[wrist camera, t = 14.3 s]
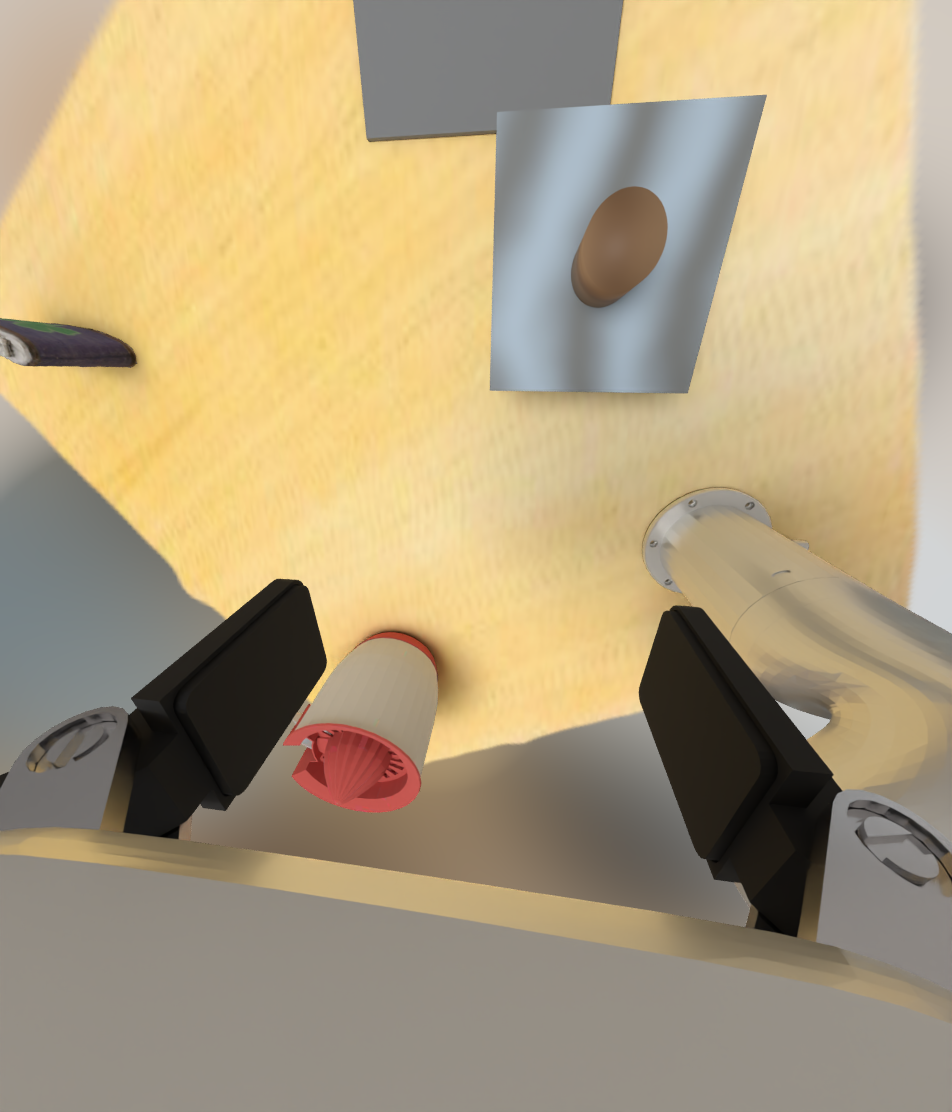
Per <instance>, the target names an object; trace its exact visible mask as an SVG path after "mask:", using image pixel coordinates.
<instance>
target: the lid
mask: <svg viewBox="0 0 952 1112" xmlns="http://www.w3.org/2000/svg"><path fill="white" fill-rule="evenodd" d="M766 96H767V95H755V96H740V97H724V98H708V99H693V100H677V101H661V102H646V103H630V104H615V105H599V106H583V107H568V108H552V109H536V110H521V111H505V112H497V134H496V173H495V212H494V251H493V290H492V329H491V368H490V390H492V391H561V392H630V393H688V390H689V386H690V382H691V379H692V375H693V371H694V367H695V363H696V360H697V356H698V352H699V348H700V345H701V341H702V337H703V333H704V330H705V326H706V322H707V318H708V315H709V311H710V307H711V303H712V299H713V296H714V292H715V288H716V284H717V281H718V277H719V273H720V269H721V266H722V262H723V258H724V254H725V251H726V247H727V243H728V239H729V235H730V232H731V228H732V224H733V220H734V217H735V213H736V209H737V205H738V202H739V198H740V194H741V190H742V187H743V183H744V179H745V175H746V171H747V168H748V164H749V160H750V156H751V153H752V149H753V145H754V141H755V138H756V134H757V130H758V126H759V122H760V119H761V115H762V111H763V107H764V104H765V100H766Z"/></svg>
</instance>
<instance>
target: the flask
mask: <svg viewBox="0 0 952 1112" xmlns="http://www.w3.org/2000/svg"><path fill="white" fill-rule="evenodd" d="M0 356H3V357H5V358H6V359H9V360H11V361H12V362H13V363H17V364H19V365H23V366H80V367H97V366H101V367H129V368H131V367H133V366H134V365H135V364H137V362H136V356H135V353H134V351H133V349H132V348H131V347H129V346H128V345H127V344H126V343H124V342H123V341H121V340H119V339H117V338H114V337H112V336H110V335H108V334H104V333H103V332H100V331H95V330H93V329H86V328H81V327H80V328H79V327H76V326H70V325H61V324H49V323H40V322H30V321H21V320H13V319H2V318H0Z"/></svg>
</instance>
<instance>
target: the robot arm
mask: <svg viewBox="0 0 952 1112" xmlns="http://www.w3.org/2000/svg"><path fill="white" fill-rule="evenodd" d="M689 501H691V502H690V503H689ZM651 541H652V542H651ZM808 549H809V544H808V542H807V541H804V540H790V539H788V538H787V537H785V536H783V535H782V534H780V533H778V532H776V531H775V530H773V529H772V523H771V519H770V516H769V514H768V512H767V510H766V509H765V507H764V506H763V505H762V504H761V503H760V502H759V501H758V500H756V499H754V498H753V497H751V496H749V495H747V494H745V493H743V492H741V491H738V490H734V489H729V488H709V489H702V490H699V491H696V492H692V493H689V494H687V495H685V496H683V497H681V498H679V499H677V500H675V501H674V502H673V503H671V504H670V505H668V506H667V507H666V508H665V509H663V510H662V511H661V512H660V513H659V514H658V515H657V517H656V518H655V519H654V520H653V522H652V523H651V525H650V526H649V528H648V530H647V532H646V535H645V538H644V541H643V549H642V554H643V561H644V563H645V566H646V568H647V570H648V571H649V573H650V575H651V576H652V577H653V578H654V579H655V580H656V582H657V583H659V584H660V585H661V586H663V587H665V588H667V589H669V590H671V591H674V592H678V593H682V594H684V596H685V597H686V598H687V600H688V601H689V602H690V604H691V605H692V606H693V607H690V606H673V607H672V608H671V609H670V611H665V612H664V613H663V615H662V617H661V620H660V624H659V627H658V630H657V633H656V636H655V639H654V643H653V646H652V649H651V652H650V655H649V658H648V661H647V665H646V668H645V671H644V674H643V677H642V680H641V684H640V687H639V699H640V703H641V706H642V708H643V711H644V713H645V716H646V719H647V722H648V724H649V727H650V729H651V732H652V735H653V738H654V740H655V743H656V746H657V749H658V751H659V754H660V757H661V759H662V762H663V765H664V767H665V770H666V773H667V776H668V778H669V781H670V784H671V786H672V789H673V792H674V794H675V797H676V800H677V802H678V805H679V808H680V811H681V813H682V816H683V819H684V821H685V824H686V827H687V829H688V832H689V835H690V837H691V840H692V843H693V845H694V848H695V850H696V852H697V853H698V855H699V856H700V857H701V858H703V859H706V860H707V862H708V865H709V868H710V870H711V873H712V875H713V878H714V879H715V880H722V881H729V882H734V883H735V885H736V887H737V889H738V890H739V892H740V894H741V896H742V897H743V899H744V900H745V902H746V904H747V905H748V907H749V908H750V910H749V914H748V918H747V922H746V926H745V927H740V926H734V925H729V924H724V923H718V922H712V921H707V920H701V919H695V918H690V917H684V916H678V915H673V914H667V913H661V912H655V911H649V910H642V909H636V908H630V907H623V906H616V905H610V904H604V903H598V902H591V901H585V900H579V899H572V898H566V897H559V896H553V895H547V894H540V893H534V892H527V891H521V890H515V889H508V888H502V887H496V886H488V885H482V884H476V883H469V882H462V881H456V880H449V879H442V878H436V877H430V876H422V875H416V874H409V873H403V872H396V871H390V870H383V869H376V868H370V867H363V866H356V865H350V864H343V863H336V862H330V861H323V860H316V859H310V858H303V857H296V856H289V855H282V854H275V853H268V852H261V851H255V850H247V849H241V848H233V847H227V846H220V845H212V844H206V843H199V842H192V841H190V840H191V823H192V814H193V813H194V811H195V810H196V809H197V807H198V806H199V804H201V806H202V807H203V808H208V809H215V810H223V811H226V810H227V808H228V807H229V805H230V804H231V802H232V801H233V799H234V798H235V796H236V795H240V794H241V793H242V792H244V790H245V789H246V788H247V787H248V785H249V784H250V782H251V781H252V779H253V778H254V776H255V775H256V773H257V772H258V770H259V769H260V767H261V766H262V764H263V763H264V761H265V760H266V758H267V757H268V755H269V754H270V752H271V751H272V749H273V748H274V746H275V745H276V743H277V742H278V740H279V738H280V737H281V736H282V734H283V733H284V731H285V729H286V728H287V727H288V725H289V724H290V722H291V721H292V719H293V718H294V716H295V715H296V713H297V712H298V710H299V709H300V707H301V706H302V704H303V703H304V701H305V700H306V698H307V697H308V695H309V694H310V692H311V691H312V689H313V688H314V686H315V685H316V683H317V682H318V680H319V679H320V677H321V676H322V674H323V673H324V671H325V668H326V664H327V659H326V654H325V651H324V647H323V643H322V639H321V635H320V631H319V628H318V624H317V620H316V616H315V612H314V608H313V605H312V601H311V597H310V593H309V590H308V588H307V587H306V586H304V585H303V583H302V582H301V581H299V580H290V579H276V580H274V581H273V582H271V583H270V584H269V585H268V586H267V587H265V588H264V589H263V590H262V591H260V592H259V593H258V594H257V595H256V596H254V597H253V598H252V599H251V600H250V601H248V602H247V603H246V604H245V605H243V606H242V607H241V608H240V609H239V610H237V611H236V612H235V613H234V614H233V615H231V616H230V617H229V618H228V619H226V620H225V621H224V622H223V623H222V624H220V625H219V626H218V627H217V628H216V629H215V630H213V631H212V632H211V633H209V634H208V635H207V636H206V637H205V638H203V639H202V640H201V641H200V642H199V643H197V644H196V645H195V646H194V647H192V648H191V649H190V650H189V651H188V652H186V653H185V654H184V655H183V656H182V657H180V658H179V659H178V660H177V661H175V662H174V663H173V664H172V665H171V666H169V667H168V668H167V669H166V670H165V671H163V672H162V673H161V674H160V675H158V676H157V677H156V678H155V679H154V680H152V681H151V682H150V683H149V684H148V685H146V686H145V687H144V688H143V689H142V690H140V691H139V692H138V693H137V694H135V695H134V696H133V697H132V698H131V699H132V701H133V702H134V704H135V705H136V706H137V709H135V710H134V711H133V712H132V713H131V714H130V715H128V713H127V712H126V711H125V710H124V709H123V708H119V707H114V706H111V707H100V708H97V709H93V710H90V711H86V712H83V713H81V714H78V715H76V716H73V717H71V718H69V719H67V720H65V721H63V722H61V723H59V724H58V725H56V726H54V727H52V728H51V729H49V730H48V731H46V732H45V733H43V734H42V735H41V736H39V737H38V738H36V739H35V740H34V741H33V742H32V743H31V744H30V745H28V746H27V747H26V748H25V749H24V750H23V751H22V753H21V754H20V755H19V757H18V758H17V760H16V761H15V762H14V764H13V766H12V768H11V769H10V771H9V772H7V773H5V774H2V775H0V1112H952V634H951V633H949V632H948V631H946V630H944V629H942V628H940V627H938V626H936V625H935V624H933V623H931V622H929V621H928V620H926V619H924V618H922V617H920V616H919V615H917V614H915V613H913V612H911V611H910V610H908V609H906V608H904V607H902V606H901V605H899V604H897V603H895V602H894V601H892V600H890V599H889V598H887V597H885V596H884V595H882V594H880V593H878V592H877V591H875V590H873V589H872V588H870V587H868V586H867V585H865V584H863V583H862V582H860V581H858V580H857V579H855V578H853V577H852V576H850V575H848V574H847V573H845V572H843V571H842V570H840V569H838V568H837V567H835V566H833V565H832V564H830V563H828V562H827V561H825V560H823V559H822V558H820V557H818V556H817V555H815V554H813V553H812V552H810V551H808ZM775 700H776V701H778V702H780V703H783V704H785V705H787V706H790V707H792V708H794V709H797V710H800V711H803V712H806V713H809V714H812V715H816V716H819V717H823V718H826V719H830V722H829V723H828V724H827V725H826V727H824V728H823V729H822V730H820V731H819V732H818V733H816V734H815V735H813V736H812V737H810V738H809V739H807V740H806V739H805V737H804V736H803V735H802V734H801V732H800V731H799V730H798V729H797V727H796V726H795V725H794V723H793V722H792V721H791V720H790V719H789V717H788V716H787V715H786V713H785V712H784V711H783V710H782V708H781V707H780V706H779V704H778V703H777V702H776V701H775Z"/></svg>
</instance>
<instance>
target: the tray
mask: <svg viewBox="0 0 952 1112" xmlns="http://www.w3.org/2000/svg"><path fill="white" fill-rule="evenodd" d="M353 2H354V13H355V23H356V33H357V43H358V54H359V64H360V74H361V84H362V95H363V105H364V115H365V125H366V136H367V140H368V141H385V140H401V139H417V138H432V137H448V136H464V135H480V134H495V133H497V112H505V111H521V110H536V109H552V108H568V107H583V106H599V105H610V101H611V93H612V85H613V77H614V69H615V61H616V53H617V45H618V37H619V29H620V21H621V13H622V5H623V0H353Z"/></svg>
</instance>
